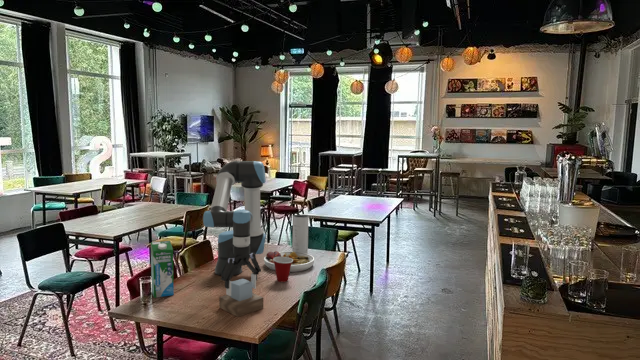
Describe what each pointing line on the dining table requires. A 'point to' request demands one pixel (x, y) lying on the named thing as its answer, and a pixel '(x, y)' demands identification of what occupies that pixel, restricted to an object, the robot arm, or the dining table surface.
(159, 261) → the milk carton
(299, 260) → the bowl
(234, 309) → the walnut block
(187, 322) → the dining table surface
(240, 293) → the slate cube
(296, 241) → the speaker
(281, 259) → the plastic cup
